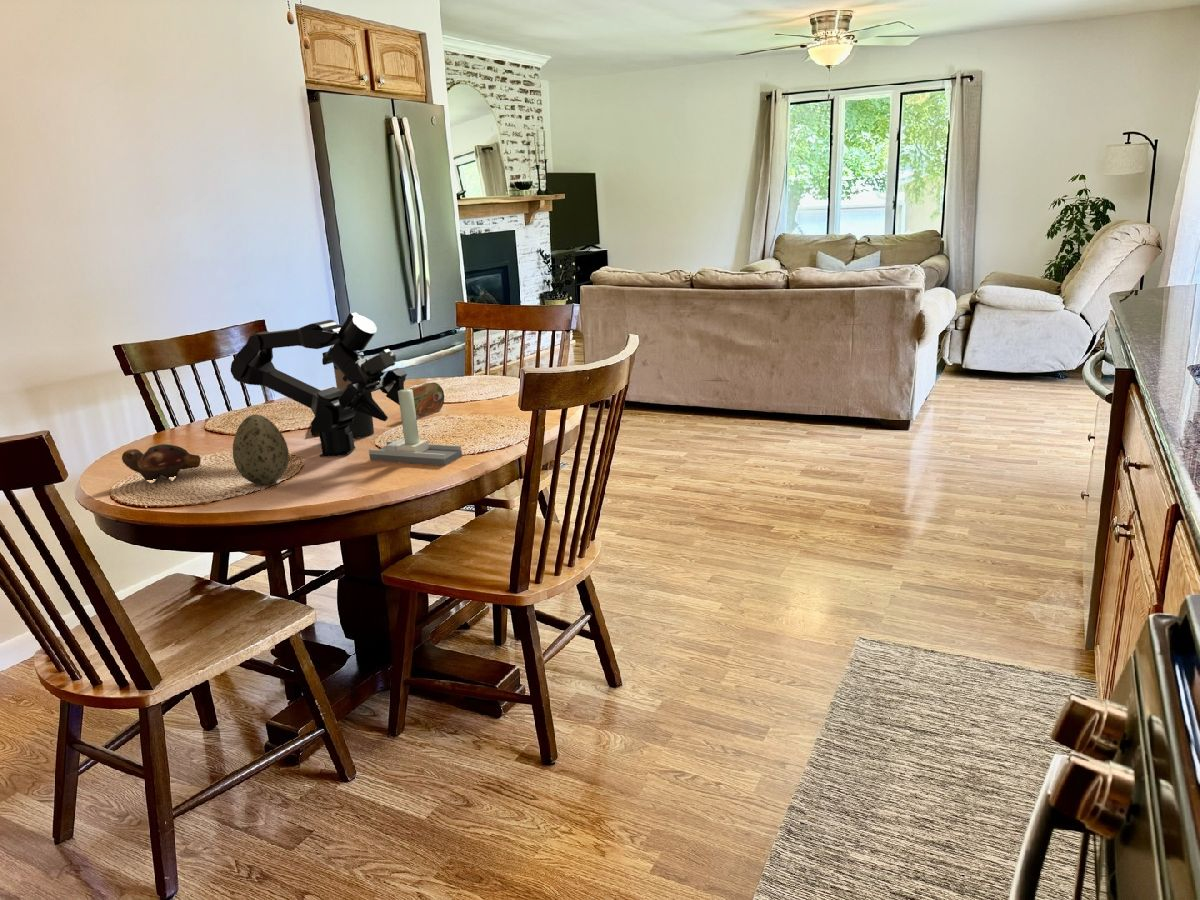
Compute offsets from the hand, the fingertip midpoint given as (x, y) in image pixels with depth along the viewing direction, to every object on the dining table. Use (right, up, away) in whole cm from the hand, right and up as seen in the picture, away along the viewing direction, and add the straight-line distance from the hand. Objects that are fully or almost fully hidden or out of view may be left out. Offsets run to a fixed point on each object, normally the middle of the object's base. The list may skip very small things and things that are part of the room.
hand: (399, 414), depth 184 cm
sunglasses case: (-27, -2, +36) cm, 45 cm away
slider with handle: (+3, -8, +1) cm, 9 cm away
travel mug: (-16, -4, +26) cm, 30 cm away
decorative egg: (-26, -15, -9) cm, 31 cm away
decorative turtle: (-51, -14, -1) cm, 53 cm away
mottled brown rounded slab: (-3, +1, +42) cm, 42 cm away
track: (+3, -10, +2) cm, 11 cm away
